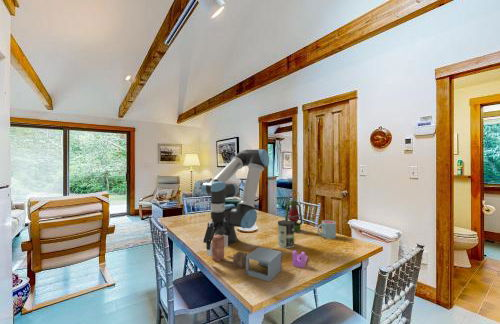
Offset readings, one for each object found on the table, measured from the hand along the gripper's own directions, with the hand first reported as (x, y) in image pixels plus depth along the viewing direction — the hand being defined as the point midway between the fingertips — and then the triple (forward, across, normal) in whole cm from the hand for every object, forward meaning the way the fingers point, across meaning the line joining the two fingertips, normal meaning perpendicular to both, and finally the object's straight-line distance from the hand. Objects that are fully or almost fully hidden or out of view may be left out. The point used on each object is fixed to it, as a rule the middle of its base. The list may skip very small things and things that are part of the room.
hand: (217, 251), depth 120 cm
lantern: (+4, +69, -18) cm, 71 cm away
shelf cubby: (+4, 0, -28) cm, 28 cm away
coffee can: (+4, +38, -24) cm, 45 cm away
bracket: (+5, +20, -39) cm, 44 cm away
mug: (+4, +67, -42) cm, 79 cm away
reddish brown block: (+4, 0, -7) cm, 8 cm away
